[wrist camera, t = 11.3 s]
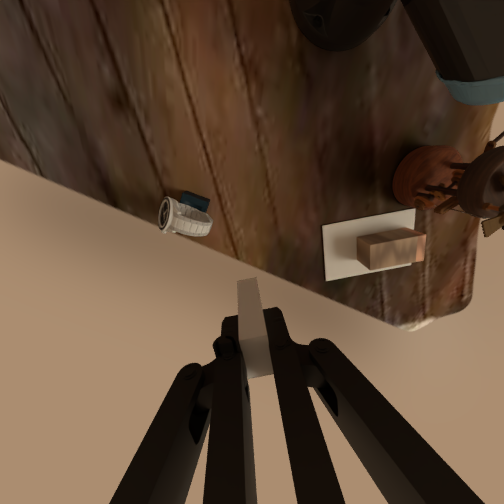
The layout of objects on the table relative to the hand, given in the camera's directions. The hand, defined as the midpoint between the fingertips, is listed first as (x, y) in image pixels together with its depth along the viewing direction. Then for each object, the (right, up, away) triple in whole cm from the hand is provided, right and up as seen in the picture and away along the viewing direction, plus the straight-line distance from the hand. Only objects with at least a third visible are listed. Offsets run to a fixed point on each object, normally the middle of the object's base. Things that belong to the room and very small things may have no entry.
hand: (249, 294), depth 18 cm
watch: (-10, +11, +24) cm, 28 cm away
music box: (+31, +18, +24) cm, 43 cm away
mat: (+23, +5, +28) cm, 37 cm away
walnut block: (+21, +3, +26) cm, 33 cm away
